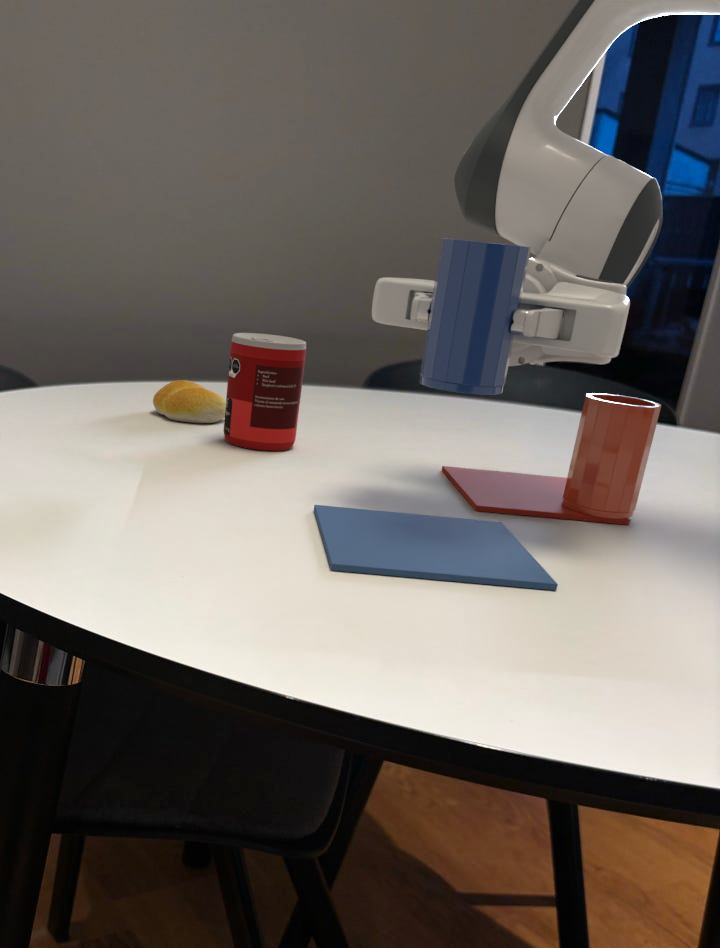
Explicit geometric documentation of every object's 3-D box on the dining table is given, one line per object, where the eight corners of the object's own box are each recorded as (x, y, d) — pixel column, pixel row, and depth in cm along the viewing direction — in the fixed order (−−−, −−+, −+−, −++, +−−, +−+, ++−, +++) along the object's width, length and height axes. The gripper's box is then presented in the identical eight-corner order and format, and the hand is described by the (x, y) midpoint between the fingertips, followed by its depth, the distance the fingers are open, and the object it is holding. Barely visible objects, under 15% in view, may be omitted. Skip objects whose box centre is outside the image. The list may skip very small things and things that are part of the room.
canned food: (244, 432, 114) (254, 331, 110) (307, 445, 111) (320, 341, 106) (208, 441, 108) (217, 334, 104) (274, 455, 104) (286, 345, 100)
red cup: (618, 503, 97) (644, 397, 93) (644, 521, 91) (673, 409, 87) (553, 497, 96) (576, 390, 93) (574, 515, 91) (600, 402, 87)
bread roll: (178, 425, 114) (181, 389, 113) (143, 410, 121) (145, 375, 120) (240, 424, 118) (243, 389, 117) (203, 409, 125) (205, 376, 124)
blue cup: (491, 384, 82) (517, 245, 78) (511, 397, 76) (540, 247, 72) (413, 377, 81) (435, 237, 77) (427, 389, 75) (451, 238, 71)
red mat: (573, 483, 106) (574, 478, 106) (628, 525, 91) (630, 519, 91) (441, 470, 105) (442, 465, 105) (475, 510, 91) (476, 505, 90)
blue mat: (500, 527, 86) (501, 521, 86) (556, 590, 71) (558, 584, 71) (313, 510, 85) (314, 504, 85) (330, 570, 70) (331, 563, 70)
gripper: (409, 260, 90) (348, 257, 79) (647, 286, 82) (618, 287, 70) (398, 333, 93) (338, 341, 81) (628, 366, 84) (597, 379, 73)
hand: (470, 316), depth 76 cm, fingers closed on blue cup, 6 cm apart
